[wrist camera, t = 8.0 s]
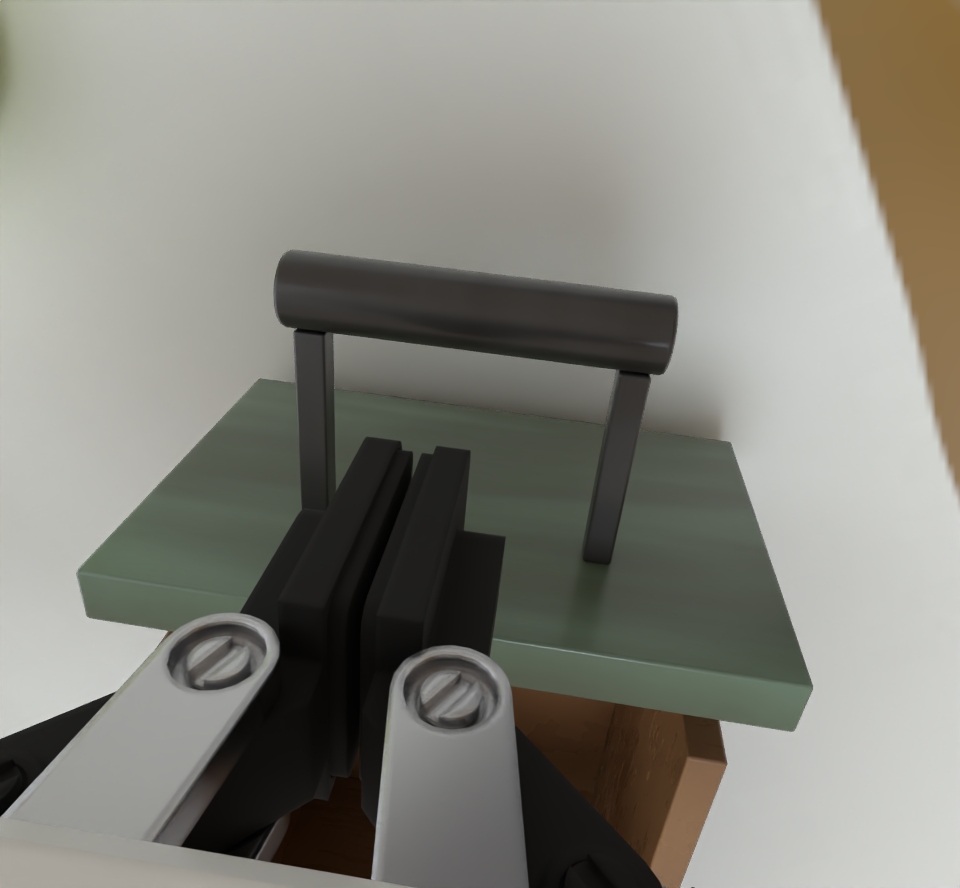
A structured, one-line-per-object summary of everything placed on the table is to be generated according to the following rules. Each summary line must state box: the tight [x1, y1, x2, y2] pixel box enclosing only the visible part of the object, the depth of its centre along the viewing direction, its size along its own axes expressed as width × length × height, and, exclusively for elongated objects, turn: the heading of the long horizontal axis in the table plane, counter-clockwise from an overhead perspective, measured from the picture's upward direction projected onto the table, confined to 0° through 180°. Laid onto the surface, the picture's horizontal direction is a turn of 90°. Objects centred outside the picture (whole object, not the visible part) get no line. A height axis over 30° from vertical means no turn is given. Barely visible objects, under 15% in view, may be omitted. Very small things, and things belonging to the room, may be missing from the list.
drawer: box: [76, 250, 813, 888], centre depth 20 cm, size 22×14×9 cm, turn 175°
